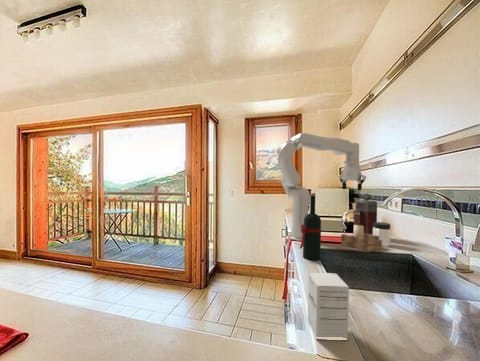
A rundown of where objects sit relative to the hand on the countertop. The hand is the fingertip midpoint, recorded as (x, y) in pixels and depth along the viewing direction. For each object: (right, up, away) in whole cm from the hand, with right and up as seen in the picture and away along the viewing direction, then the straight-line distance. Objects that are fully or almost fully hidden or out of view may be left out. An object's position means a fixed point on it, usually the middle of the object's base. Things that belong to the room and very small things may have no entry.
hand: (351, 189), depth 146 cm
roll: (-5, -30, -18) cm, 35 cm away
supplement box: (-50, -31, -90) cm, 107 cm away
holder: (-4, -30, -19) cm, 36 cm away
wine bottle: (-39, -30, -39) cm, 63 cm away
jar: (+10, -31, -14) cm, 35 cm away
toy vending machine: (+9, -31, +2) cm, 32 cm away
